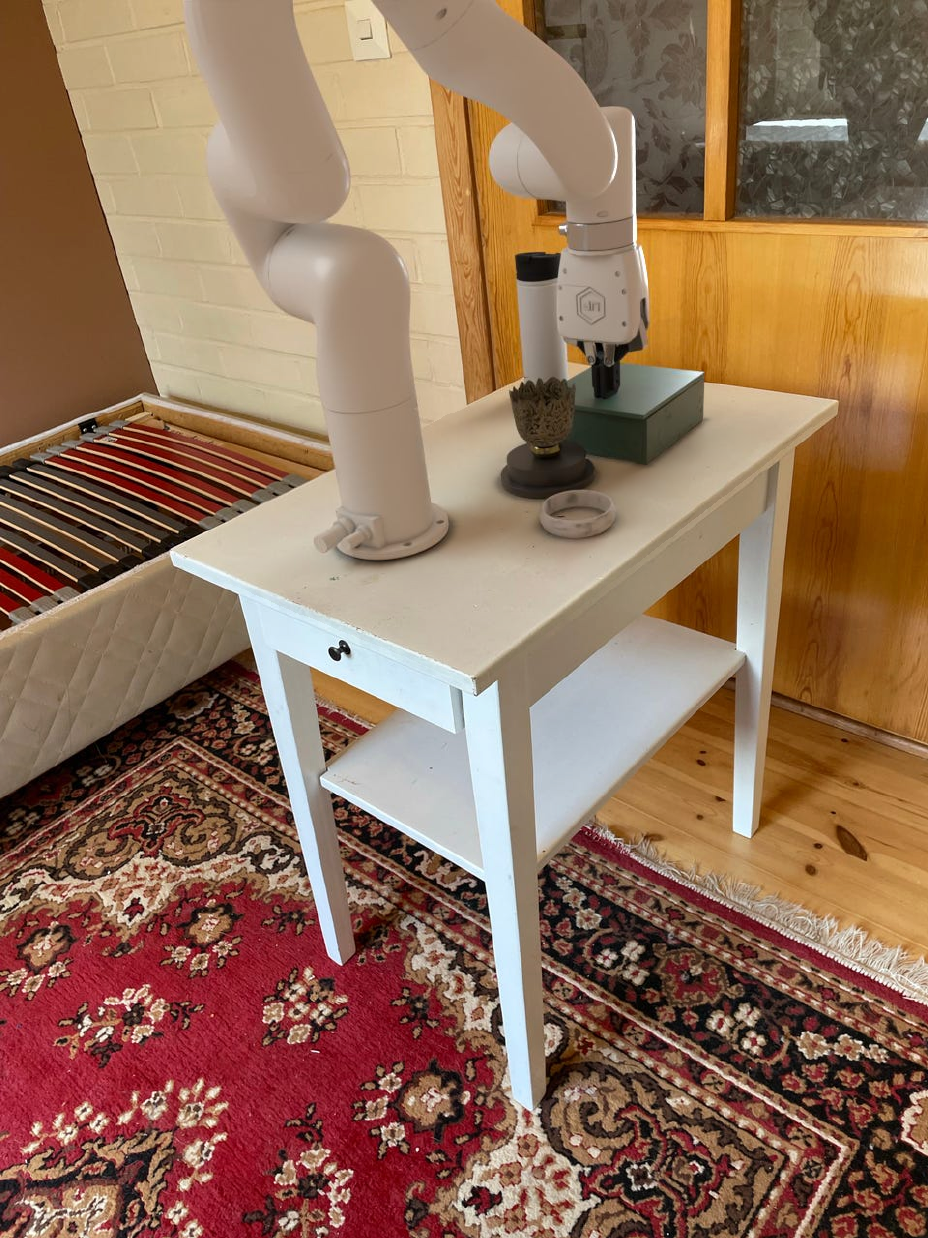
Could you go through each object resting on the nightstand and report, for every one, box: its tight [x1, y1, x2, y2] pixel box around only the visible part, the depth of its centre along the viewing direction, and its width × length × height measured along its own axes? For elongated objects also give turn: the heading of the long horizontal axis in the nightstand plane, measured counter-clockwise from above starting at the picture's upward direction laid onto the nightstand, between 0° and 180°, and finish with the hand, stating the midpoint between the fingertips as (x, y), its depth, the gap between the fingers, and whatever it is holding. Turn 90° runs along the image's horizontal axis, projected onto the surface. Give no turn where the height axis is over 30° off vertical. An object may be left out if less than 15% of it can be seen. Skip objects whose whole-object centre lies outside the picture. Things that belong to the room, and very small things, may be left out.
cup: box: [508, 377, 576, 459], centre depth 107 cm, size 8×7×8 cm
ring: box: [538, 489, 617, 539], centre depth 100 cm, size 8×8×2 cm
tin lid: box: [567, 362, 705, 420], centre depth 116 cm, size 16×15×1 cm
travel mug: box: [514, 251, 569, 387], centre depth 128 cm, size 6×7×20 cm
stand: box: [499, 440, 596, 500], centre depth 109 cm, size 11×11×3 cm
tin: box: [565, 376, 705, 465], centre depth 118 cm, size 15×15×6 cm
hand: (606, 394), depth 113 cm, fingers closed
